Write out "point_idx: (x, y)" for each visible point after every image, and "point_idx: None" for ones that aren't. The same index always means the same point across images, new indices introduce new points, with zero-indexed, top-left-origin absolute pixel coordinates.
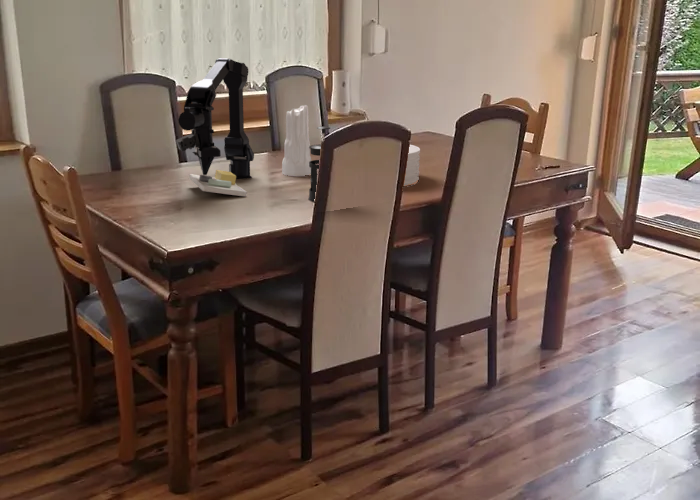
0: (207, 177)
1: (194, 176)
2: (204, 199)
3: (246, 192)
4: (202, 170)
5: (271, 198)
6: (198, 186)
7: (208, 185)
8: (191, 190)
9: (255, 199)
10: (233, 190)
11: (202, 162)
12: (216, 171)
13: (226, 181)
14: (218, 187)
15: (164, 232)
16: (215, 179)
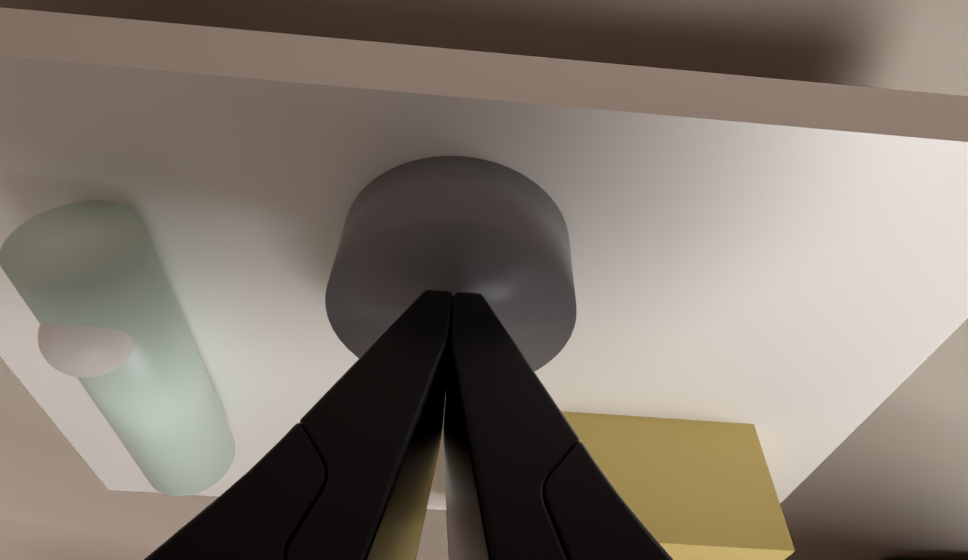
0: (325, 303)
1: (857, 182)
2: (74, 13)
3: (109, 482)
4: (411, 335)
5: (66, 556)
6: (232, 32)
7: (1, 172)
8: (743, 29)
9: (35, 470)
10: (47, 407)
11: (214, 533)
12: (750, 529)
13: (134, 456)
14: (13, 290)
15: None
16: (47, 357)
